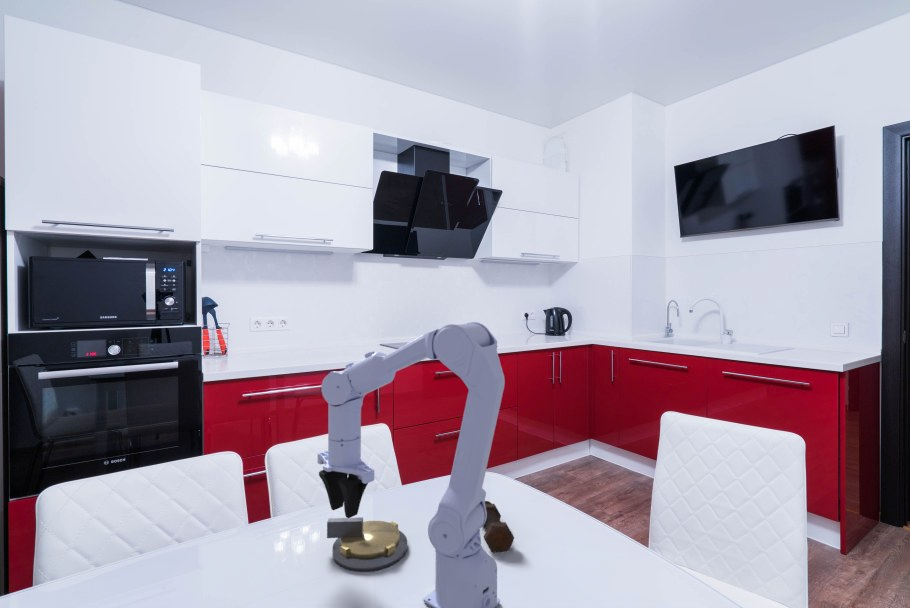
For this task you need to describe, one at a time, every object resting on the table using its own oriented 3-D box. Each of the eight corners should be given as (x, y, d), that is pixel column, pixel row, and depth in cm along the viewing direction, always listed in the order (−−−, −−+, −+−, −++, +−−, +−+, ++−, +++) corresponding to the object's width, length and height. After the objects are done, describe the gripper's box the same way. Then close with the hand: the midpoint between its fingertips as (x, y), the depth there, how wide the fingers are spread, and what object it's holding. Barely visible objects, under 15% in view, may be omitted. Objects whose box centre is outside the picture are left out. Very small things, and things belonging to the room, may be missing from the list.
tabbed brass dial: (416, 540, 86) (416, 517, 86) (364, 569, 77) (364, 543, 77) (375, 519, 94) (375, 498, 94) (323, 543, 85) (323, 520, 85)
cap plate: (422, 548, 86) (422, 542, 86) (363, 582, 76) (363, 575, 76) (375, 524, 96) (375, 518, 96) (317, 551, 85) (317, 545, 85)
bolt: (488, 523, 100) (503, 559, 85) (469, 513, 100) (481, 547, 85) (501, 500, 101) (518, 531, 86) (481, 489, 100) (496, 519, 85)
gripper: (303, 433, 83) (302, 507, 83) (350, 451, 73) (350, 534, 73) (335, 425, 88) (335, 494, 88) (383, 441, 79) (383, 518, 79)
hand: (344, 511), depth 81 cm, fingers open, 4 cm apart
